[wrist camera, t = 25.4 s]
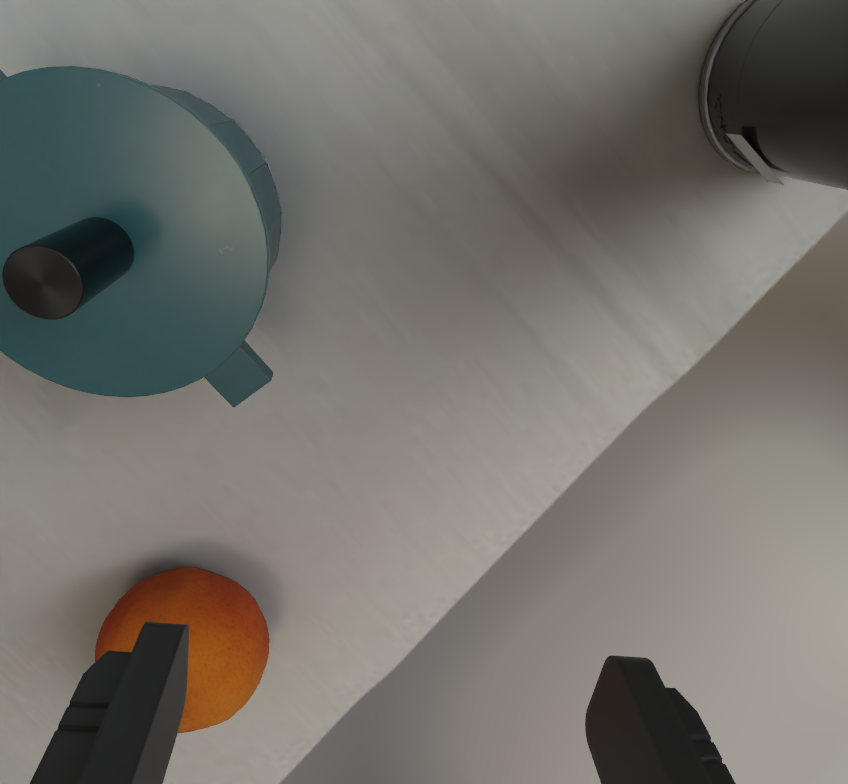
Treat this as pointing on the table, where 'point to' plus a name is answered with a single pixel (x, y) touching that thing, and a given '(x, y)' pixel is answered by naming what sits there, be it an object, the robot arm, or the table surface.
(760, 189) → the table surface
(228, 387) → the pot
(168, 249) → the lid
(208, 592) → the fruit
